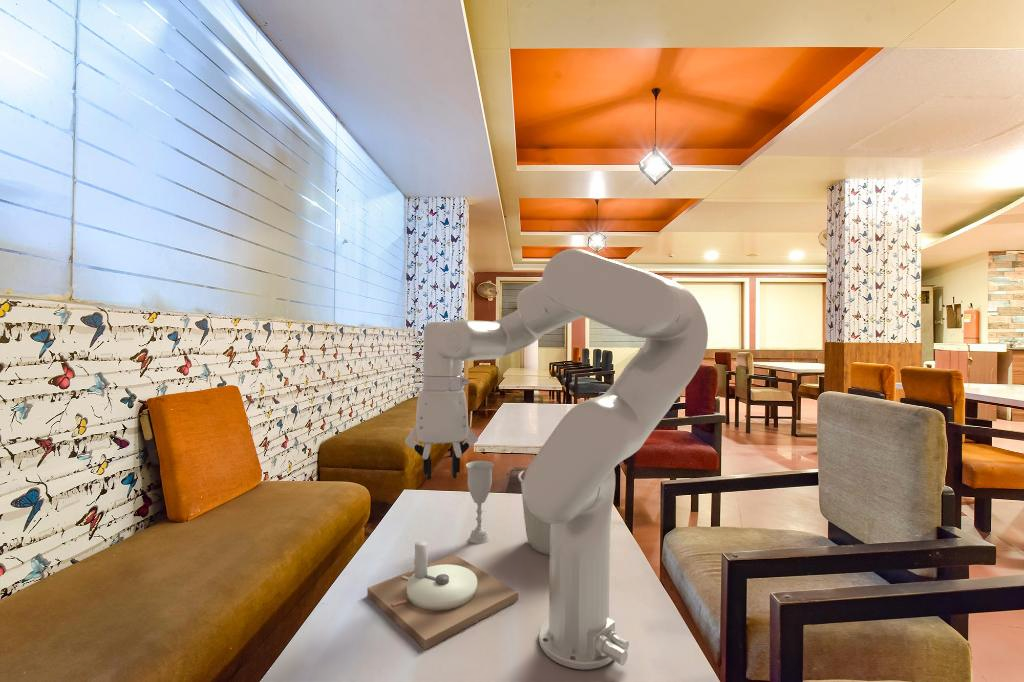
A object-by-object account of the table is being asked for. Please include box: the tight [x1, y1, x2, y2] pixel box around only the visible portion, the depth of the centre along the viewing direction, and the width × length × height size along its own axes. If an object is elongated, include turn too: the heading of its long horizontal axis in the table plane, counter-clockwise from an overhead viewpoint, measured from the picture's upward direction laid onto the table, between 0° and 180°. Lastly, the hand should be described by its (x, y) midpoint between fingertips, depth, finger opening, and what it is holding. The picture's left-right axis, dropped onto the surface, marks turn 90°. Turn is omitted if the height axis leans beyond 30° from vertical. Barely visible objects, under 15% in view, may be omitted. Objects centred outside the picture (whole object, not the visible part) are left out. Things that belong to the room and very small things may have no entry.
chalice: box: [465, 460, 495, 545], centre depth 110 cm, size 7×7×18 cm
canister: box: [517, 467, 551, 556], centre depth 107 cm, size 18×18×21 cm
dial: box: [407, 540, 477, 610], centre depth 85 cm, size 13×13×8 cm
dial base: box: [366, 553, 519, 650], centre depth 85 cm, size 20×20×2 cm
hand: (441, 476), depth 90 cm, fingers open, 4 cm apart
